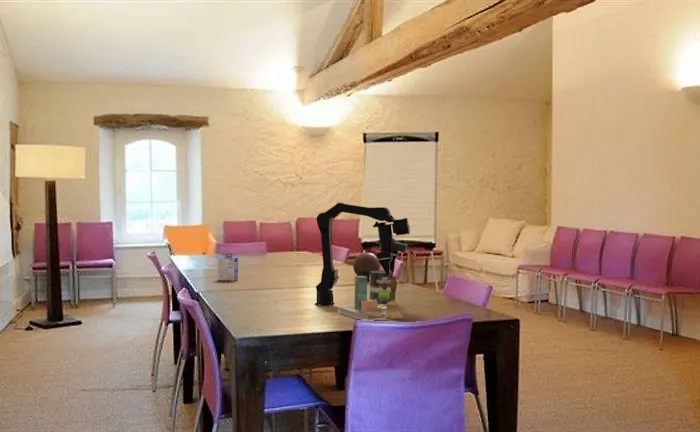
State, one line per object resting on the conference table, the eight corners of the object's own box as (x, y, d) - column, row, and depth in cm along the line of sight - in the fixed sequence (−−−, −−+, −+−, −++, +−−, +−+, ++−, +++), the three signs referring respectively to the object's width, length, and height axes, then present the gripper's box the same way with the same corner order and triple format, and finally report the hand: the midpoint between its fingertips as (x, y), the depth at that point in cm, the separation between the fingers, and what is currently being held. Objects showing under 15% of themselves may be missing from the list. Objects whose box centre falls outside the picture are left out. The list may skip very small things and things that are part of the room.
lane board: (339, 313, 271) (339, 307, 271) (379, 309, 281) (379, 303, 281) (366, 322, 254) (366, 315, 254) (407, 317, 263) (407, 311, 263)
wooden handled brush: (401, 315, 269) (402, 275, 269) (404, 319, 261) (405, 277, 260) (381, 315, 269) (381, 274, 269) (382, 318, 261) (383, 277, 260)
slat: (351, 312, 266) (351, 276, 265) (365, 311, 269) (365, 275, 269) (367, 317, 255) (368, 280, 255) (382, 316, 258) (382, 279, 258)
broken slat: (365, 309, 275) (365, 306, 275) (378, 308, 278) (378, 305, 278) (375, 312, 268) (375, 309, 268) (388, 311, 272) (388, 308, 272)
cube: (361, 311, 261) (361, 300, 261) (371, 310, 263) (371, 299, 263) (367, 313, 257) (367, 301, 257) (377, 312, 259) (377, 301, 259)
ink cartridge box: (238, 279, 370) (238, 253, 369) (234, 281, 364) (234, 254, 364) (221, 279, 372) (221, 252, 372) (217, 280, 367) (217, 253, 366)
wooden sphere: (382, 281, 373) (382, 253, 372) (355, 281, 371) (355, 253, 370) (377, 277, 388) (377, 251, 387) (351, 277, 386) (351, 251, 385)
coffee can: (395, 305, 293) (396, 272, 292) (373, 306, 290) (373, 273, 289) (388, 301, 303) (388, 270, 302) (366, 302, 300) (366, 270, 299)
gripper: (400, 236, 274) (405, 274, 274) (408, 233, 292) (413, 269, 292) (373, 239, 277) (378, 277, 277) (383, 236, 295) (387, 271, 295)
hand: (390, 273), depth 285 cm, fingers open, 9 cm apart
